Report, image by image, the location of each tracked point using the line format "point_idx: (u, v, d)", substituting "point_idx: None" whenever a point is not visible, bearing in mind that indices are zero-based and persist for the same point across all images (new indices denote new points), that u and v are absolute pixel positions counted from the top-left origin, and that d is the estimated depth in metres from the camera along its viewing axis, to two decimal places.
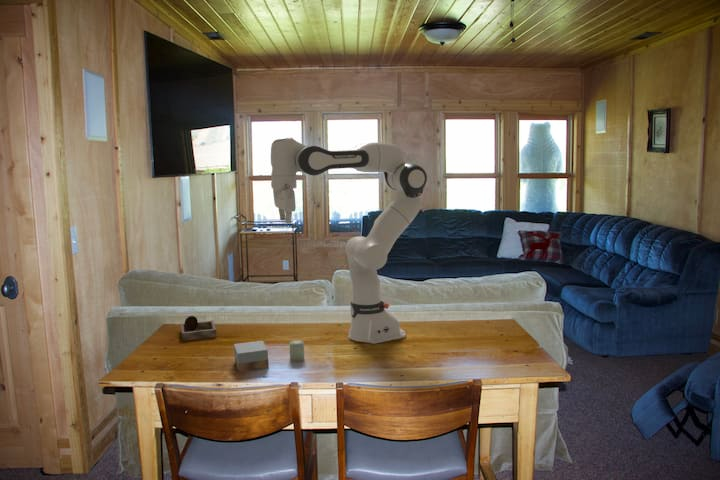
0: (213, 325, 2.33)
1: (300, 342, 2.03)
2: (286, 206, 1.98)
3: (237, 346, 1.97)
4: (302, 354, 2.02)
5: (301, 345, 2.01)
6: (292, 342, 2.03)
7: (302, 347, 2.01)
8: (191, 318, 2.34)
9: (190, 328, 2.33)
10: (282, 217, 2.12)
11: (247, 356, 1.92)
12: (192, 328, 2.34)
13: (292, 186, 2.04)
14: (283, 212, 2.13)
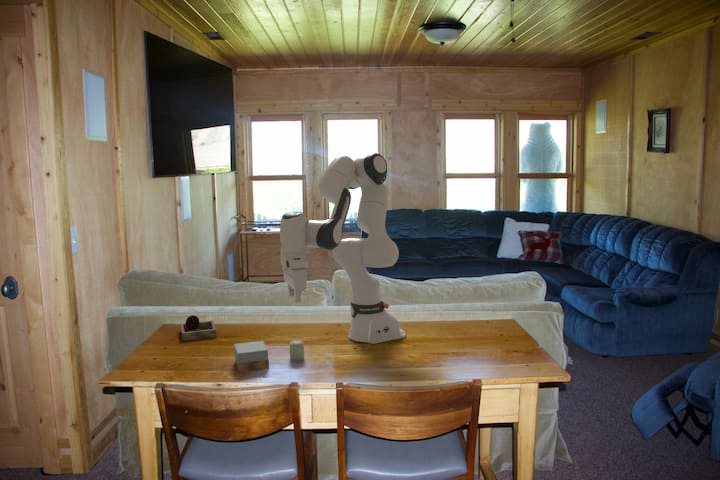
0: (213, 325, 2.33)
1: (300, 342, 2.03)
2: None
3: (237, 346, 1.98)
4: (302, 354, 2.02)
5: (301, 345, 2.01)
6: (292, 342, 2.03)
7: (302, 347, 2.01)
8: (192, 317, 2.34)
9: (191, 327, 2.34)
10: None
11: (247, 356, 1.92)
12: (193, 327, 2.34)
13: None
14: None
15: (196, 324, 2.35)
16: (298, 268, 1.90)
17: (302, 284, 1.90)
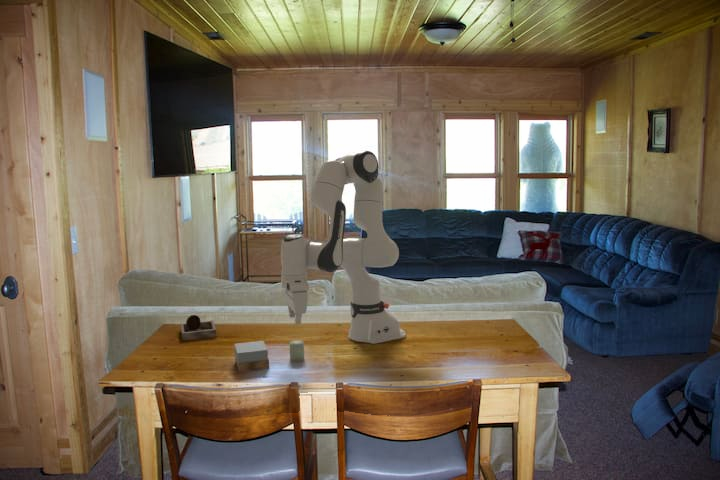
0: (213, 325, 2.33)
1: (300, 342, 2.03)
2: None
3: (237, 346, 1.98)
4: (302, 354, 2.02)
5: (301, 345, 2.01)
6: (292, 342, 2.03)
7: (302, 347, 2.01)
8: (193, 317, 2.35)
9: (192, 327, 2.34)
10: None
11: (247, 355, 1.92)
12: (194, 327, 2.35)
13: None
14: None
15: (197, 324, 2.36)
16: (298, 291, 1.91)
17: (303, 306, 1.91)
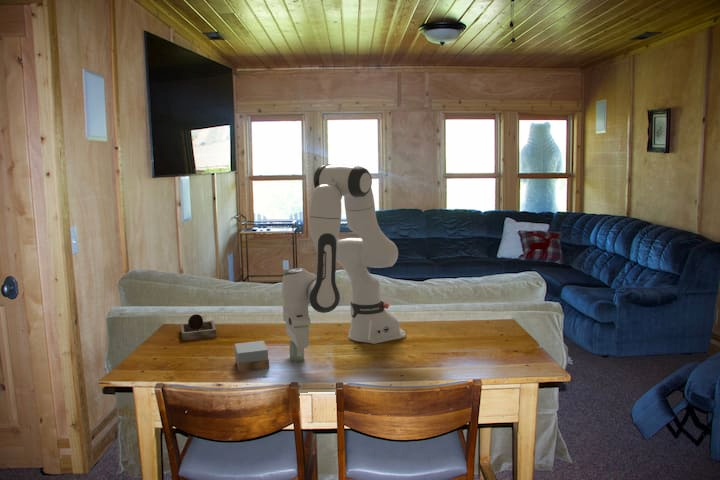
0: (213, 325, 2.33)
1: None
2: None
3: (237, 346, 1.98)
4: (302, 354, 2.02)
5: None
6: (292, 342, 2.03)
7: None
8: (196, 316, 2.36)
9: (194, 326, 2.35)
10: None
11: (247, 355, 1.92)
12: (197, 326, 2.36)
13: None
14: None
15: (200, 323, 2.37)
16: (300, 326, 1.93)
17: (305, 341, 1.93)
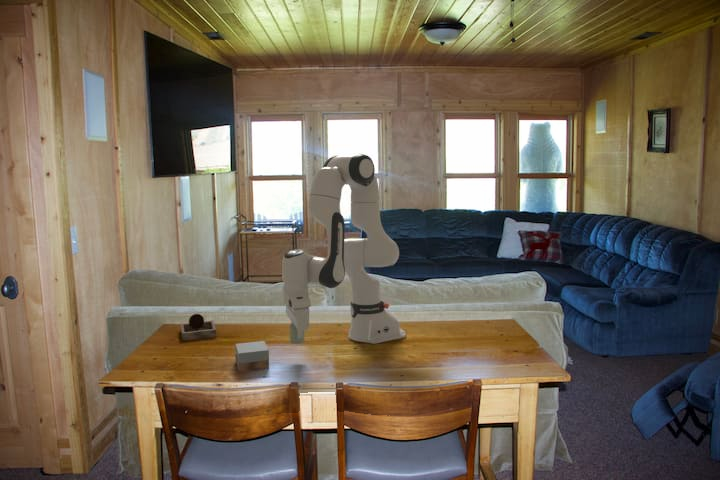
0: (213, 325, 2.33)
1: None
2: None
3: (238, 346, 1.97)
4: (302, 336, 2.01)
5: None
6: (292, 324, 2.02)
7: None
8: (197, 316, 2.36)
9: (195, 326, 2.36)
10: None
11: (248, 356, 1.92)
12: (197, 326, 2.36)
13: None
14: None
15: (201, 323, 2.37)
16: (301, 307, 1.92)
17: (305, 323, 1.92)
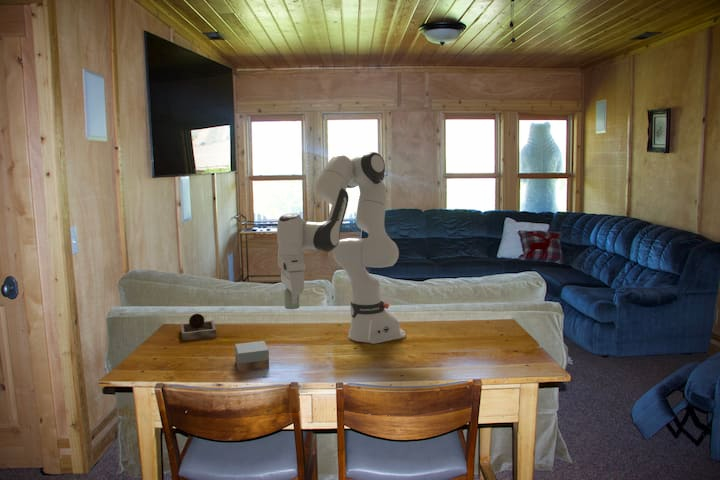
0: (213, 325, 2.33)
1: None
2: None
3: (238, 346, 1.97)
4: (297, 302, 1.98)
5: None
6: (287, 290, 1.99)
7: None
8: (197, 316, 2.37)
9: (195, 325, 2.36)
10: None
11: (248, 356, 1.92)
12: (198, 326, 2.37)
13: None
14: None
15: (201, 323, 2.37)
16: (295, 270, 1.90)
17: (300, 286, 1.89)
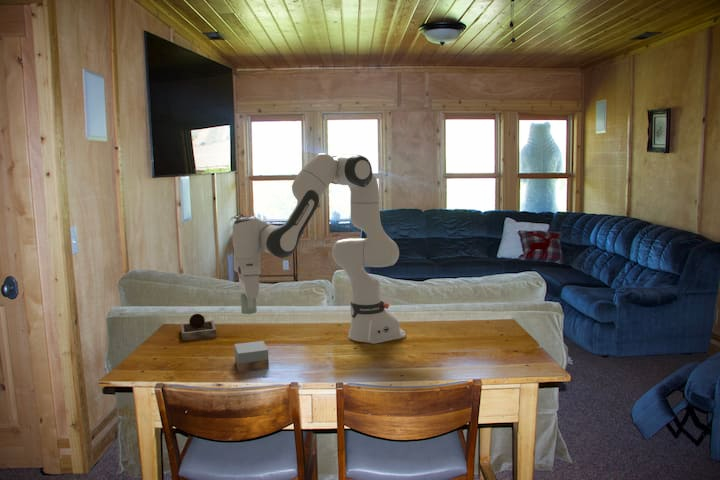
0: (213, 325, 2.33)
1: None
2: None
3: (237, 346, 1.98)
4: (254, 306, 1.93)
5: None
6: (244, 294, 1.95)
7: (254, 299, 1.93)
8: (198, 316, 2.37)
9: (196, 325, 2.36)
10: None
11: (247, 356, 1.92)
12: (198, 326, 2.37)
13: None
14: None
15: (201, 323, 2.37)
16: (250, 274, 1.85)
17: (254, 291, 1.85)
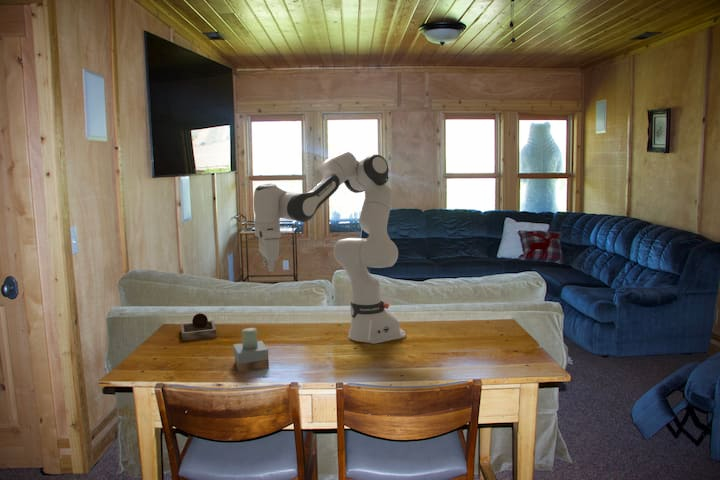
0: (213, 325, 2.33)
1: (253, 329, 1.96)
2: None
3: (236, 347, 1.97)
4: (255, 342, 1.95)
5: (254, 332, 1.94)
6: (245, 329, 1.96)
7: (255, 334, 1.95)
8: (201, 315, 2.37)
9: (199, 325, 2.37)
10: None
11: (247, 356, 1.92)
12: (201, 325, 2.37)
13: None
14: None
15: (204, 323, 2.37)
16: (271, 238, 1.96)
17: (275, 253, 1.95)
